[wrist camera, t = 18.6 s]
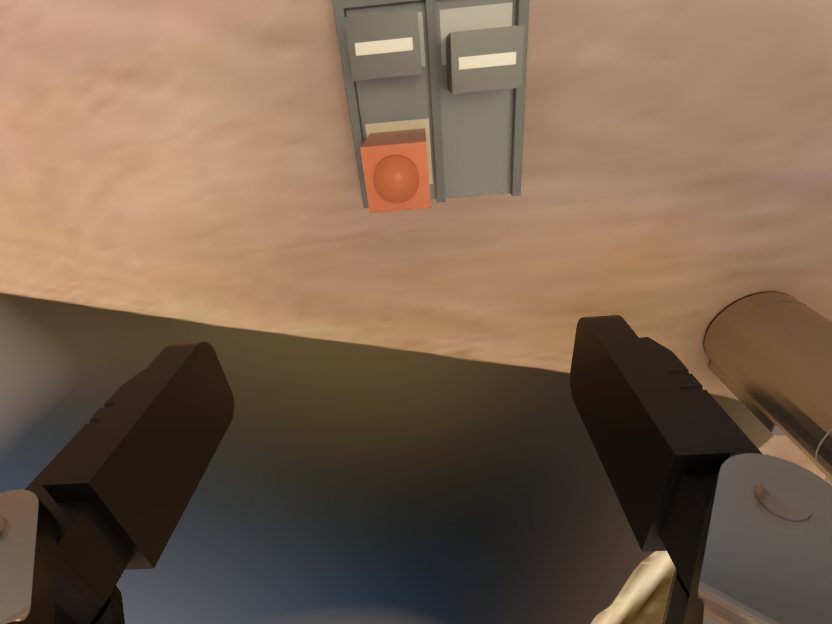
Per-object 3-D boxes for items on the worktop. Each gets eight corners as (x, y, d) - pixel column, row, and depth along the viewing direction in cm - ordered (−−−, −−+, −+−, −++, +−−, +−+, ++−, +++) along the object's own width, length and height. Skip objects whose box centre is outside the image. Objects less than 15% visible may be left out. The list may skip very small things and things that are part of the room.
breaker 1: (421, 72, 28) (421, 74, 23) (362, 78, 28) (352, 80, 24) (417, 18, 26) (417, 9, 22) (356, 25, 26) (343, 17, 22)
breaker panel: (510, 182, 35) (520, 196, 31) (369, 194, 35) (363, 209, 32) (521, -160, 24) (539, -199, 21) (322, -135, 25) (306, -169, 21)
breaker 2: (506, 84, 28) (522, 87, 24) (447, 89, 28) (452, 94, 24) (507, 31, 27) (524, 24, 22) (445, 37, 27) (450, 32, 22)
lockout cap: (428, 184, 32) (431, 210, 26) (377, 188, 32) (368, 215, 26) (425, 128, 30) (426, 143, 24) (370, 133, 30) (358, 149, 24)
